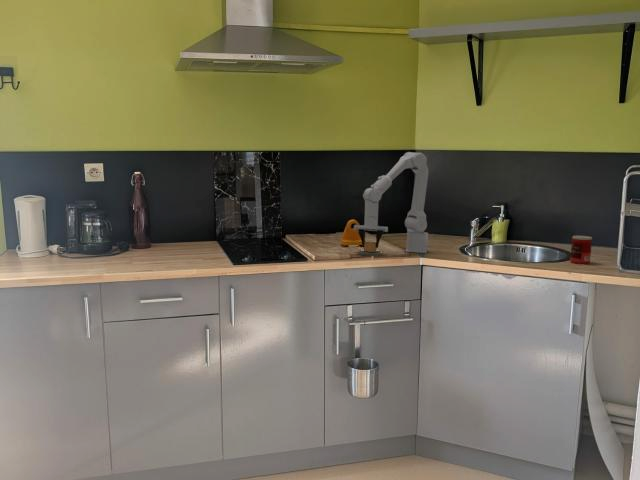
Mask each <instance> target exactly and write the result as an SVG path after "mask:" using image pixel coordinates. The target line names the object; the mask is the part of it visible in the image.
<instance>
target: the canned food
mask: <svg viewBox="0 0 640 480" xmlns="http://www.w3.org/2000/svg"><path fill="white" fill-rule="evenodd" d="M592 244H593V237H592V236H587V235H573V236H572V237H571V248H570V257H569V258H570V259H569V260H570V263H572V264H574V265H581V264H586V265H589V264H590V263H591V254H592Z"/></svg>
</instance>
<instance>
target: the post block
mask: <svg viewBox="0 0 640 480" xmlns="http://www.w3.org/2000/svg"><path fill="white" fill-rule="evenodd" d="M367 242H368V243H371V244H372V243H373V242H374V241H367ZM381 251H382V250H381ZM381 251H376V252H367V251H361V250H359V251H358V253H357V255H358V256H368V257H370V256H371V257H380V256H381V254H380V252H381Z"/></svg>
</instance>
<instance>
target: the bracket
mask: <svg viewBox="0 0 640 480" xmlns="http://www.w3.org/2000/svg"><path fill="white" fill-rule="evenodd" d="M352 224H354V225H360V223H359V222H358V221H357V220H356V219H350V220H348V221H347V223H346V225H345V228H344V231H343V233H342V235H341V238H340V244H341V243H342V244H341V245H342V246H347V245H362V241H361V238H360V235H359V233H358V231H359V230H354V227H353V228H352ZM365 242H367V241H366V240H365Z"/></svg>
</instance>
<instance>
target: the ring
mask: <svg viewBox="0 0 640 480" xmlns="http://www.w3.org/2000/svg"><path fill="white" fill-rule="evenodd" d="M368 242H369V241H366V242H364V247H363V249H364V251H367V252H376V250H377V249H378V248H376V241H372V242H373V243H372V244H371V243H368Z"/></svg>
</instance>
